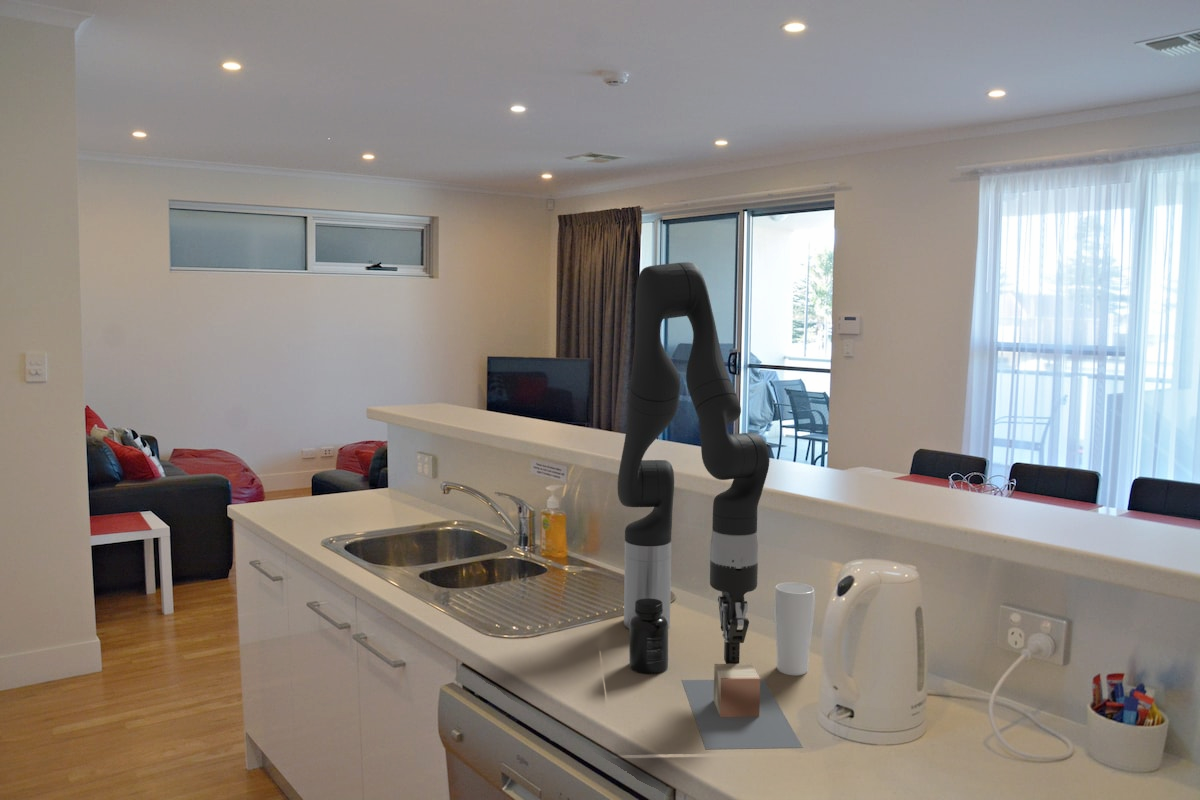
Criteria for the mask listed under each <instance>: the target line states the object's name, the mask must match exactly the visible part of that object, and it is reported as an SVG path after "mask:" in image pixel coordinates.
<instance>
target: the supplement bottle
mask: <svg viewBox="0 0 1200 800" xmlns="http://www.w3.org/2000/svg"><path fill="white" fill-rule="evenodd" d="M662 613H663V603H662V601H660V600H657V599H651V598H645V599H639V600H637V601H636V602H635V614H636V615H635V616H633V617H632V618H631V620H630V623H629V628H628V629H629V636H628V637H629V641H628V642H629V643H628V644H629V653H628V655H629V656H628V657H629V659H628V660H629V668H630V670H632V671H633V672H635V673H637V674H640V675H641V674H642V675H658V674H662V673H664V672H666V671H667V670H668V668H669V627H668V621H667V619H666V618H665V617H664V616H662V615H661V614H662Z"/></svg>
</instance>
